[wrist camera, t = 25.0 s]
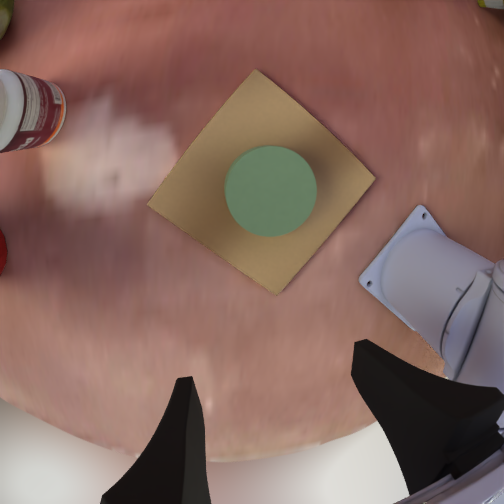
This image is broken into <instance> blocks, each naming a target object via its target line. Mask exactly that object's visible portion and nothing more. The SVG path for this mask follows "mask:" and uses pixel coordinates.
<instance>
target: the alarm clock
mask: <svg viewBox="0 0 504 504" xmlns="http://www.w3.org/2000/svg"><path fill="white" fill-rule="evenodd" d="M478 4H479V6H480V7H489V8H497V9H504V0H478Z"/></svg>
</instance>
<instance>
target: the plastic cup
mask: <svg viewBox="0 0 504 504" xmlns="http://www.w3.org/2000/svg"><path fill="white" fill-rule="evenodd" d="M6 261H7V247H6V243H5V238H4V235H3V233H2V231H1V229H0V275H1V273H2V271H3V269H4V267H5V265H6Z"/></svg>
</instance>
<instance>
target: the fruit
mask: <svg viewBox="0 0 504 504" xmlns="http://www.w3.org/2000/svg"><path fill="white" fill-rule="evenodd" d="M13 9H14V0H0V40H1V39H2V37H3V36H4V34H5V32H6V30H7V27H8V25H9V23H10V21H11V18H12V14H13Z"/></svg>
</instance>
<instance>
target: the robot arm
mask: <svg viewBox="0 0 504 504" xmlns="http://www.w3.org/2000/svg"><path fill="white" fill-rule="evenodd" d="M423 214H424V217H423V218H422V215H423ZM369 281H370V283H369V284H368V285H367V283H368V282H369ZM359 283H360V284H361V285H362V286H363V287H364V288H365V289H367V290H368V291H369V292H370V293H371V294H372V295H374V296H375V297H376V298H377V299H378V300H379V301H380V302H382V303H383V304H384V305H385V306H386V307H387V308H388V309H390V310H391V311H392V312H393V313H394V314H395V315H396V316H397V317H399V318H400V319H401V320H402V321H403V322H404V323H405V324H406V325H407V326H409V327H410V328H411V329H412V330H413V331H417V332H418V333H419V334H420V335H421V336H422V337H423V338H424V339H425V340H426V342H427V343H428V344H429V345H430V346H431V347H432V348H433V349H434V350H435V351H436V352H437V353H438V354H439V356H440V357H441V358H442V359H443V360H444V361H445V367H444V370H443V373H444V374H445V375H446V376H447V377H448V378H449V380H448V379H445V378H442V377H439V376H436V375H434V374H431V373H428V372H426V371H424V370H421V369H419V368H417V367H415V366H413V365H411V364H409V363H407V362H405V361H403V360H402V359H400V358H398V357H396V356H394V355H393V354H391V353H389V352H388V351H386V350H384V349H383V348H381V347H379V346H378V345H376V344H374V343H373V342H371V341H369V340H368V339H364V340H361V341H357V342H355V344H354V353H353V362H352V370H351V376H352V378H353V381H354V383H355V385H356V387H357V389H358V391H359V393H360V395H361V396H362V398H363V399H364V401H365V402H366V404H367V406H368V407H369V409H370V410H371V412H372V413H373V415H374V416H375V418H376V419H377V421H378V422H379V424H380V425H381V427H382V428H383V431H384V432H385V434H386V436H387V438H388V440H389V443H390V445H391V447H392V449H393V451H394V454H395V456H396V458H397V461H398V463H399V465H400V468H401V471H402V473H403V476H404V479H405V482H406V485H407V488H408V491H409V495H410V496H409V497H407V498H405V499H402V500H401V501H398V502H396V503H394V504H490V503H491V502H492V501H494V500H495V499H496V498H497V497H499V496H500V495H501V494H502V493H503V492H504V259H502V260H499V261H498V262H496V264H495V263H493V262H491V261H489V260H488V259H486V258H484V257H482V256H481V255H479V254H477V253H475V252H473V251H472V250H470V249H468V248H466V247H464V246H462V245H461V244H459V243H457V242H455V241H453V240H451V239H449V238H447V237H446V235H445V234H444V232H443V231H442V230H441V228H440V227H439V225H438V224H437V223H436V221H435V220H434V219H433V217H432V216H431V215H430V213H429V212H428V211H427V209H426V208H425V207H424V206H422V205H417V206H416V207H415V209H414V210H413V211H412V213H411V214H410V215H409V217H408V218H407V219H406V220H405V222H404V223H403V224H402V226H401V227H400V228H399V229H398V231H397V232H396V233H395V234H394V236H393V237H392V238H391V239H390V241H389V242H388V243H387V244H386V245H385V247H384V248H383V249H382V250H381V252H380V253H379V254H378V255H377V256H376V258H375V259H374V260H373V261H372V262H371V263H370V265H369V266H368V267H367V268H366V269H365V271H364V272H363V273H362V274H361V275H360V277H359ZM100 504H211V499H210V494H209V488H208V482H207V475H206V453H205V426H204V419H203V412H202V406H201V403H200V400H199V397H198V394H197V390H196V387H195V384H194V381H193V377H192V376H190V377H182V378H178V379H177V380H176V383H175V386H174V389H173V392H172V395H171V398H170V401H169V403H168V406H167V408H166V410H165V413H164V415H163V417H162V419H161V421H160V423H159V425H158V427H157V429H156V431H155V433H154V435H153V437H152V438H151V440H150V442H149V443H148V445H147V446H146V448H145V449H144V451H143V452H142V454H141V455H140V456H139V458H138V459H137V460H136V462H135V463H134V464H133V466H132V467H131V468H130V469H129V470H128V471H127V472H126V473H125V474H124V475H123V477H122V478H121V479H120V480H119V481H118V482H117V483H116V484H115V485H114V486H112V487H111V488H110V489H109V490H108V491H107V492H106V493H104V494H103V495H102V498H101V502H100Z"/></svg>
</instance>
